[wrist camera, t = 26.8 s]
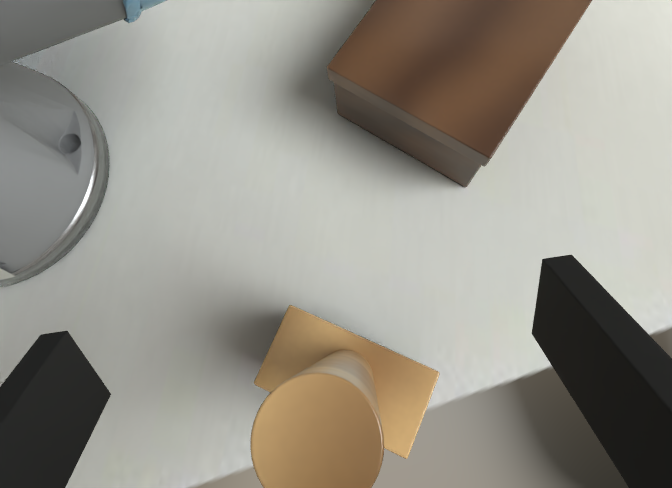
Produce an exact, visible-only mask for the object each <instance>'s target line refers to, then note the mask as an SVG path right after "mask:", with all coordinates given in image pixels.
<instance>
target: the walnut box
mask: <svg viewBox="0 0 672 488" xmlns="http://www.w3.org/2000/svg"><path fill="white" fill-rule="evenodd" d="M591 1H592V0H376V1H375V2H374V4H373V5H372V6H371V8H370V9H369V10H368V12H367V13H366V15H365V16H364V17H363V19H362V20H361V21H360V23H359V24H358V25H357V27H356V28H355V29H354V31H353V32H352V34H351V35H350V36H349V38H348V39H347V40H346V42H345V43H344V44H343V46H342V47H341V48H340V50H339V51H338V52H337V54H336V55H335V57H334V58H333V59H332V61H331V62H330V63H329V65H328V66H327V73H328V79H329V80H330V81H332V82H334V89H335V96H336V104H337V112H338V114H339V115H341V116H343V117H344V118H346V119H348V120H350V121H351V122H353V123H355V124H357V125H358V126H360V127H362V128H364V129H365V130H367V131H369V132H370V133H372V134H374V135H376V136H377V137H379V138H381V139H383V140H384V141H386V142H388V143H390V144H391V145H393V146H395V147H397V148H398V149H400V150H402V151H403V152H405V153H407V154H409V155H410V156H412V157H414V158H416V159H417V160H419V161H421V162H423V163H424V164H426V165H428V166H429V167H431V168H433V169H435V170H436V171H438V172H440V173H442V174H443V175H445V176H447V177H449V178H450V179H452V180H454V181H455V182H457V183H459V184H461V185H462V186H464V187H467V186H468V184H469V183H470V181H471V180H472V178H473V177H474V175H475V174H476V172H477V171H478V170H479V168H480V167H481V165H482V166H484V167H485V166H486V165H487V163H488V162H489V160H490V159H491V158H492V156H493V155H494V153H495V151H496V150H497V148H498V147H499V145H500V144H501V142H502V140H503V139H504V137H505V136H506V134H507V133H508V131H509V130H510V128H511V126H512V125H513V123H514V122H515V120H516V119H517V117H518V115H519V114H520V112H521V111H522V109H523V108H524V106H525V104H526V103H527V101H528V100H529V98H530V97H531V95H532V94H533V92H534V90H535V89H536V87H537V86H538V84H539V83H540V81H541V79H542V78H543V76H544V75H545V73H546V72H547V70H548V69H549V67H550V65H551V64H552V62H553V61H554V59H555V58H556V56H557V54H558V53H559V51H560V50H561V48H562V47H563V45H564V44H565V42H566V40H567V39H568V37H569V36H570V34H571V33H572V31H573V29H574V28H575V26H576V25H577V23H578V22H579V20H580V19H581V17H582V15H583V14H584V12H585V11H586V9H587V8H588V6H589V4H590V3H591Z"/></svg>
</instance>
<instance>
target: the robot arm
mask: <svg viewBox="0 0 672 488" xmlns="http://www.w3.org/2000/svg"><path fill="white" fill-rule="evenodd" d="M164 1H166V0H0V287H1V286H7V285H10V284H14V283H18V282H20V281H23V280H26V279H28V278H30V277H33V276H35V275H37V274H39V273H40V272H42V271H44V270H46V269H47V268H49V267H50V266H52V265H53V264H55V263H56V262H57V261H59V260H60V259H61V258H62V257H63V256H65V255H66V254H67V253H68V252H69V251H70V250H71V249H72V248H73V247H74V246H75V245H76V244H77V243H78V241H79V240H80V239H81V238H82V237H83V235H84V234H85V233H86V231H87V230H88V228H89V227H90V225H91V224H92V222H93V220H94V219H95V217H96V215H97V213H98V210H99V208H100V206H101V203H102V201H103V198H104V195H105V191H106V188H107V182H108V177H109V152H108V145H107V141H106V137H105V134H104V132H103V129H102V127H101V125H100V123H99V121H98V119H97V118H96V116H95V115H94V113H93V112H92V111H91V110H90V108H89V107H88V106H87V105H86V104H85V103H84V102H83V101H82V100H80V99H79V98H78V97H77V96H75V95H74V94H73V93H72V92H71V91H69V90H68V89H67V88H66V87H64V86H63V85H62V84H60V83H59V82H57V81H55V80H54V79H52V78H50V77H48V76H46V75H44V74H42V73H39V72H37V71H35V70H32V69H29V68H27V67H24V66H21V65H19V64H16V63H14V62H11V61H14V60H16V59H19V58H22V57H24V56H27V55H30V54H32V53H35V52H38V51H40V50H43V49H45V48H48V47H51V46H53V45H56V44H59V43H61V42H64V41H66V40H69V39H72V38H74V37H77V36H80V35H82V34H85V33H88V32H90V31H93V30H95V29H98V28H101V27H103V26H106V25H109V24H111V23H114V22H116V21H119V20H122V19H124V20H125V21H126V22H128V23H130V22H134V21H135V20H136V19H138V18H139V16H140V14H141V11H144V10H146V9H148V8H150V7H153V6H155V5H157V4H159V3H162V2H164ZM532 335H533V336H534V338H535V339H536V341H537V342H538V344H539V346H540V347H541V349H542V350H543V352H544V354H545V355H546V357H547V358H548V360H549V361H550V363H551V365H552V366H553V368H554V369H555V371H556V373H557V374H558V376H559V377H560V379H561V380H562V382H563V384H564V385H565V387H566V388H567V390H568V392H569V393H570V395H571V396H572V398H573V400H574V401H575V402H576V404H577V406H578V407H579V409H580V410H581V412H582V414H583V415H584V417H585V419H586V420H587V422H588V423H589V425H590V426H591V428H592V430H593V431H594V433H595V434H596V436H597V438H598V439H599V441H600V442H601V444H602V445H603V447H604V449H605V450H606V452H607V453H608V455H609V457H610V458H611V460H612V461H613V463H614V465H615V466H616V468H617V469H618V471H619V472H620V474H621V476H622V477H623V479H624V480H625V482H626V483H627V485H628V487H629V488H672V358H670V356H669V355H668V354H667V353H666V352H665V351H664V350H663V349H662V348H661V347H660V346H659V345H658V344H657V343H656V342H655V341H654V340H653V339H652V338H651V337H650V336H649V335H648V333H647V332H646V331H645V330H644V329H643V328H642V327H641V326H640V325H639V324H638V323H637V322H636V321H635V320H634V319H633V318H632V317H631V316H630V315H629V314H628V313H627V312H626V311H625V310H624V309H623V307H622V306H621V305H620V304H619V303H618V302H617V301H616V300H615V299H614V298H613V297H612V296H611V295H610V294H609V293H608V292H607V291H606V290H605V289H604V288H603V287H602V286H601V285H600V284H599V283H598V282H597V280H596V279H595V278H594V277H593V276H592V275H591V274H590V273H589V272H588V271H587V270H586V269H585V268H584V267H583V266H582V265H581V264H580V263H579V262H578V261H577V260H576V259H575V258H574V257H573V256H572V255H566V256H560V257H553V258H546V259H542V266H541V273H540V280H539V287H538V294H537V301H536V308H535V315H534V322H533V329H532ZM110 395H111V393H110V392H109V390H108V389H107V388H106V386H105V385H104V383H103V382H102V380H101V379H100V377H99V376H98V375H97V373H96V372H95V370H94V369H93V367H92V366H91V364H90V363H89V362H88V360H87V359H86V357H85V356H84V354H83V353H82V351H81V350H80V349H79V347H78V346H77V344H76V343H75V341H74V340H73V338H72V337H71V336H70V334H69V333H68V331H63V332H56V333H49V334H43V335H40V336H39V338H38V339H37V340H36V342H35V343H34V344H33V345H32V347H31V348H30V349H29V351H28V352H27V353H26V355H25V356H24V357H23V358H22V360H21V361H20V362H19V364H18V365H17V366H16V367H15V369H14V370H13V371H12V373H11V374H10V375H9V376H8V378H7V379H6V380H5V382H4V383H3V384H2V385H1V387H0V488H65V487H66V485H67V483H68V481H69V479H70V477H71V475H72V472H73V470H74V468H75V466H76V464H77V462H78V460H79V458H80V456H81V454H82V452H83V450H84V448H85V446H86V444H87V442H88V440H89V438H90V436H91V434H92V432H93V430H94V428H95V426H96V424H97V422H98V420H99V418H100V415H101V413H102V411H103V409H104V407H105V405H106V403H107V401H108V399H109V397H110Z"/></svg>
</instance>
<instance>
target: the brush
mask: <svg viewBox="0 0 672 488" xmlns="http://www.w3.org/2000/svg"><path fill="white" fill-rule="evenodd" d="M438 377H439V372H438V371H436V370H434V369H432V368H430V367H427V366H425V365H423V364H421V363H419V362H416V361H414V360H412V359H410V358H407V357H405V356H403V355H401V354H399V353H396V352H394V351H392V350H390V349H388V348H385V347H383V346H381V345H379V344H376V343H374V342H372V341H370V340H368V339H365V338H363V337H361V336H359V335H357V334H354V333H352V332H350V331H348V330H345V329H343V328H341V327H339V326H337V325H334V324H332V323H330V322H328V321H326V320H323V319H321V318H319V317H317V316H314V315H312V314H310V313H308V312H306V311H303V310H301V309H299V308H297V307H295V306H292V305H289V307H288V309H287V311H286V313H285V315H284V318H283V320H282V322H281V324H280V326H279V328H278V331H277V333H276V335H275V337H274V339H273V342H272V344H271V346H270V348H269V350H268V352H267V355H266V357H265V359H264V361H263V363H262V366H261V368H260V370H259V372H258V374H257V377H256V379H255V381H254V384H255V385H256V386H258V387H261V388H263V389H265V390H267V391H269V392H271V393H270V394H269V395H268V396H267V397H266V399H265V400H264V401H263V403H262V404H261V406H260V408H259V410H258V412H257V414H256V417H255V420H254V423H253V427H252V432H251V457H252V461H253V466H254V469H255V471H256V474H257V477H258V478H259V480H260V482H261V484H262V486H263V487H264V488H371V487H372V486H373V484H374V483H375V481H376V478H377V476H378V474H379V471H380V468H381V465H382V460H383V455H384V448H385V449H387V450H389V451H391V452H393V453H395V454H397V455H399V456H401V457H403V458H405V459H407V458H408V456H409V453H410V450H411V447H412V445H413V443H414V440H415V437H416V435H417V432H418V429H419V427H420V424H421V422H422V419H423V416H424V414H425V411H426V409H427V406H428V403H429V401H430V398H431V395H432V393H433V390H434V388H435V385H436V382H437V380H438Z"/></svg>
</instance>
